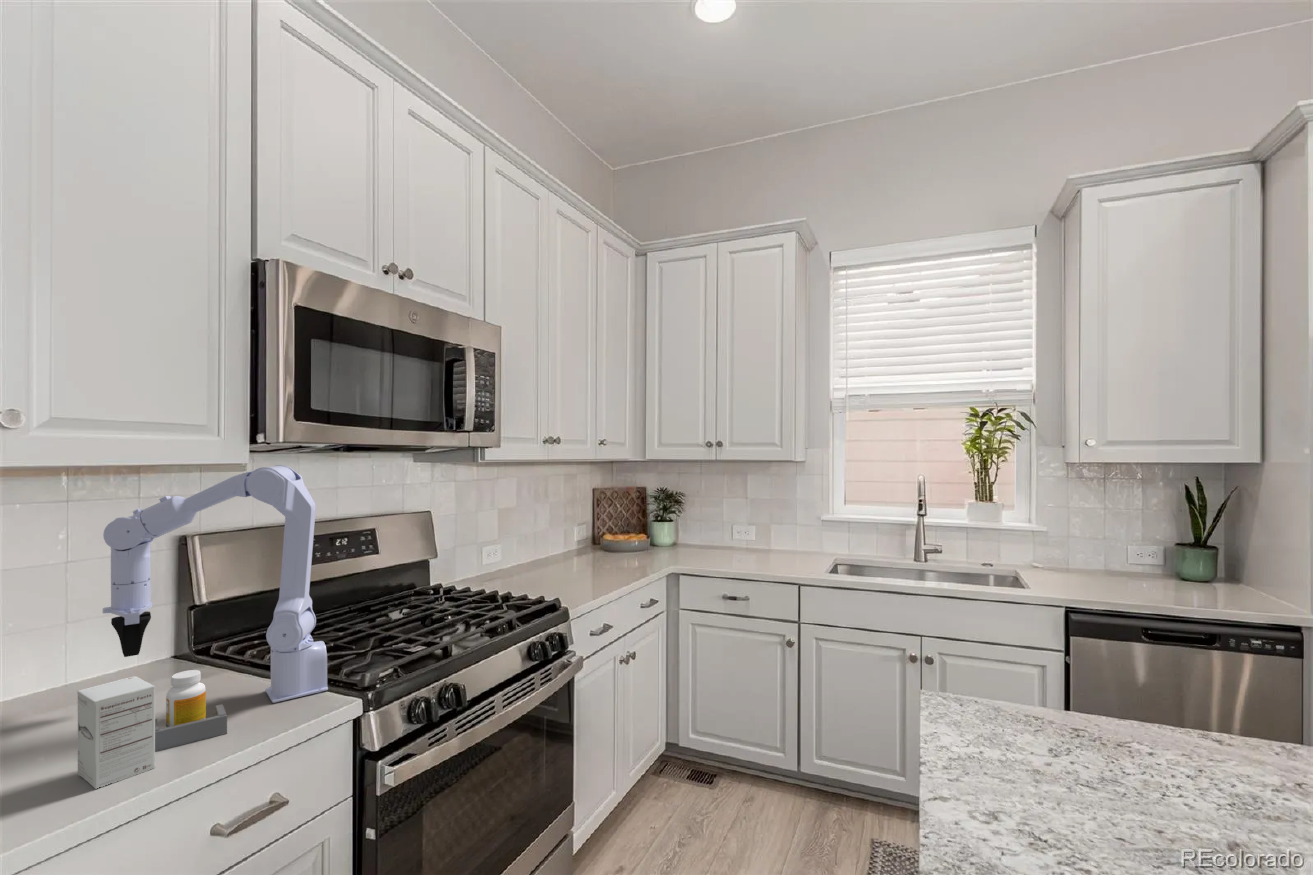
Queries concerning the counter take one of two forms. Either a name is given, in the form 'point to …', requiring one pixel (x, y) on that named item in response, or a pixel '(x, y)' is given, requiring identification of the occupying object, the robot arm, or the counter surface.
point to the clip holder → (191, 730)
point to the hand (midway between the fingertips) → (131, 655)
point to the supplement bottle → (185, 698)
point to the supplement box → (116, 730)
